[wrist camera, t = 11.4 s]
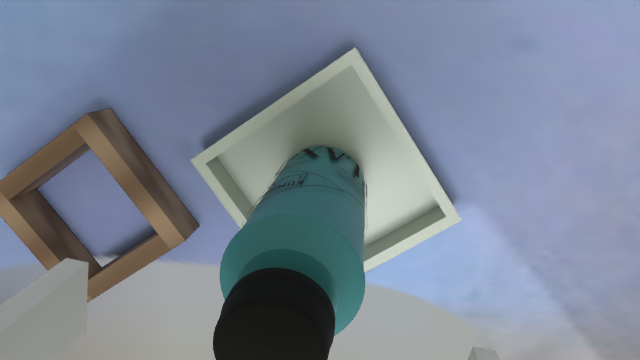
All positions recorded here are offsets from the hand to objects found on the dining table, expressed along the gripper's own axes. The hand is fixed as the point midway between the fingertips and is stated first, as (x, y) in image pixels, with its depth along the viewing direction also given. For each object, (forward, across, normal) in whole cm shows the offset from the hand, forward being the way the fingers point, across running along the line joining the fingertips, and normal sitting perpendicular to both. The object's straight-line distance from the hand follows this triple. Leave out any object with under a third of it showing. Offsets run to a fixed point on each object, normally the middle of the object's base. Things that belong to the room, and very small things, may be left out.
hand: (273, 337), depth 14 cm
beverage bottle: (+19, 0, 0) cm, 19 cm away
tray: (+20, +1, 0) cm, 20 cm away
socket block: (+20, -17, -6) cm, 27 cm away
